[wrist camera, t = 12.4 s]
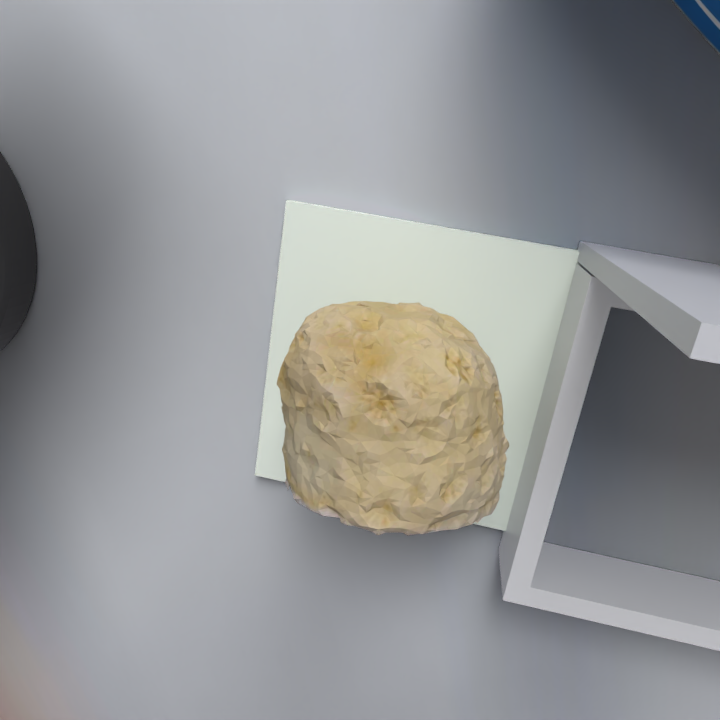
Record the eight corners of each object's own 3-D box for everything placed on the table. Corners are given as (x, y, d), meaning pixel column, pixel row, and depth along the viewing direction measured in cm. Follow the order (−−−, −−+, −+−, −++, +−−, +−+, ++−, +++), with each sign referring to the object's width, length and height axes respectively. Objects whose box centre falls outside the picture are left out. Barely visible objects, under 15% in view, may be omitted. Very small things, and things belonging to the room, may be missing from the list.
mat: (258, 470, 33) (254, 475, 33) (289, 200, 29) (286, 200, 28) (524, 528, 32) (525, 535, 31) (600, 254, 27) (603, 256, 27)
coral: (240, 564, 26) (218, 394, 19) (320, 398, 33) (324, 234, 27) (468, 635, 24) (529, 475, 18) (500, 444, 32) (552, 280, 25)
